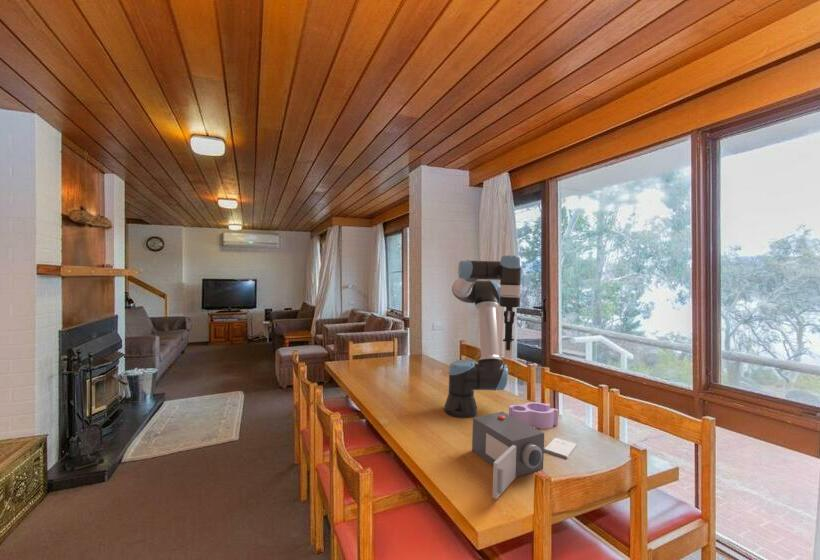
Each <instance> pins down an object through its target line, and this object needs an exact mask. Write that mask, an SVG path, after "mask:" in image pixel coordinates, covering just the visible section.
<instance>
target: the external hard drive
mask: <svg viewBox="0 0 820 560" xmlns="http://www.w3.org/2000/svg"><path fill="white" fill-rule="evenodd" d="M577 446H578V445H577V443H576V442H571V441H569V440H565V439H562V438H559V437H554V438H553V439H552V440H551V441H550V442H549V443H548V444H547V445H546V446H544V453H547V454H550V455H554V456H556V457H560V458H563V459H566V460H568V459H569V457H570V456H571V455H572V453H573V452H574V451H575V450H576V448H577Z"/></svg>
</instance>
